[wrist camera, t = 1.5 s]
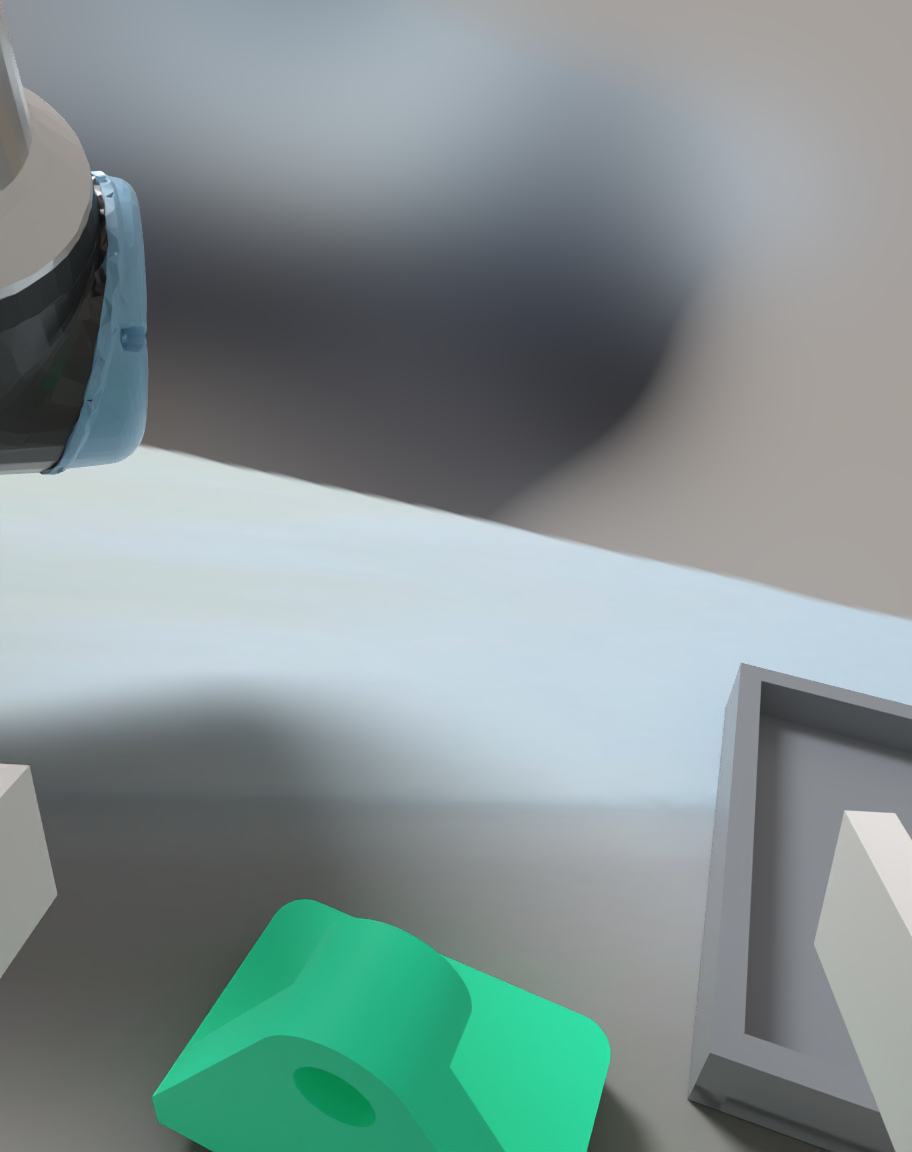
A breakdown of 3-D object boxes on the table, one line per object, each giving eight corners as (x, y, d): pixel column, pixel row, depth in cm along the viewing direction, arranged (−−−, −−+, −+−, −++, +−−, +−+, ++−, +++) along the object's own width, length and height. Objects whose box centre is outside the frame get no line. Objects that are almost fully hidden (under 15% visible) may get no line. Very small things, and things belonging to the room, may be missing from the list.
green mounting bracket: (603, 1070, 29) (669, 881, 23) (533, 1340, 23) (597, 1176, 17) (293, 933, 32) (282, 736, 27) (162, 1138, 26) (111, 943, 21)
